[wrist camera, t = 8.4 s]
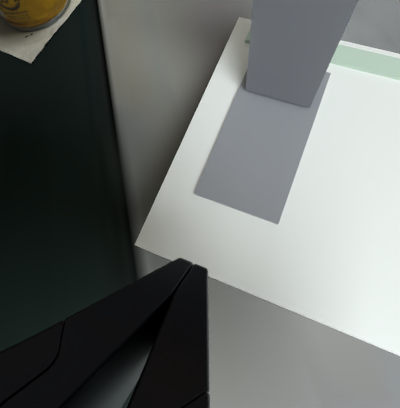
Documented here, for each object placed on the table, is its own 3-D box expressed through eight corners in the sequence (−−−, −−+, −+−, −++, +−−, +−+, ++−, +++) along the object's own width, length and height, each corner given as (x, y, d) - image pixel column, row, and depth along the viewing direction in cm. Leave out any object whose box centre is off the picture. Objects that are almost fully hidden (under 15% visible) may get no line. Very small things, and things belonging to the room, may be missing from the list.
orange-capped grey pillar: (310, 108, 15) (396, -81, 7) (244, 89, 16) (259, -102, 8) (323, 71, 16) (417, -143, 8) (259, 54, 16) (287, -157, 9)
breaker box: (607, 443, 13) (723, 491, 10) (150, 252, 17) (133, 244, 14) (625, 154, 16) (716, 123, 13) (237, 54, 21) (239, 14, 18)
